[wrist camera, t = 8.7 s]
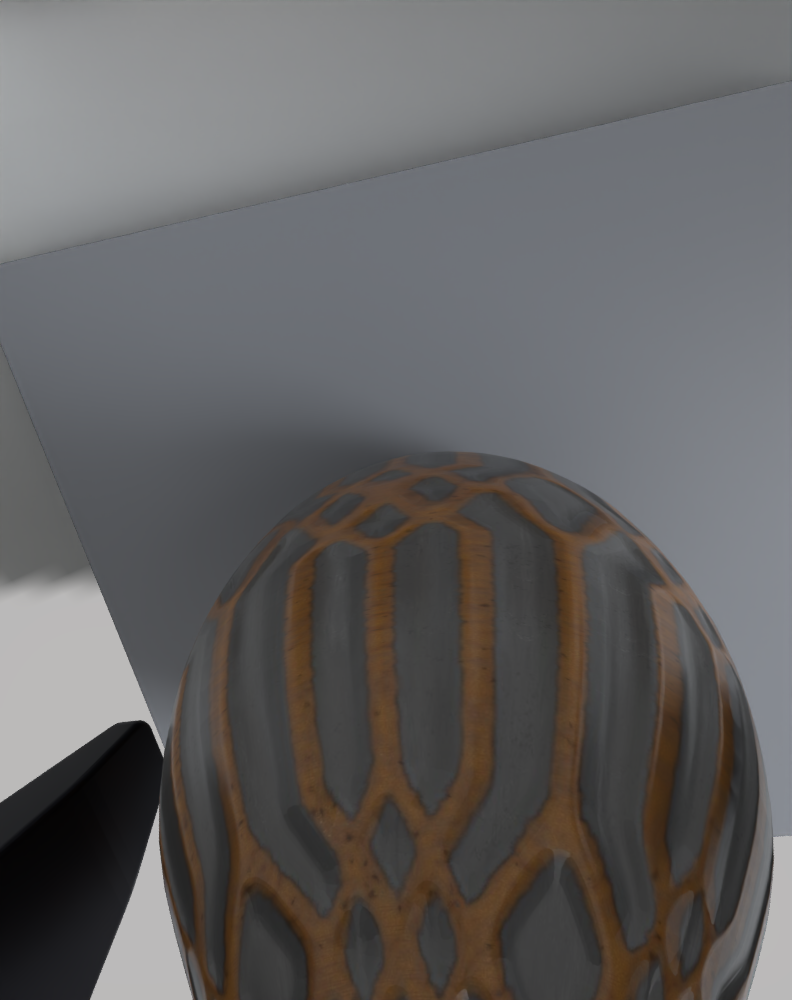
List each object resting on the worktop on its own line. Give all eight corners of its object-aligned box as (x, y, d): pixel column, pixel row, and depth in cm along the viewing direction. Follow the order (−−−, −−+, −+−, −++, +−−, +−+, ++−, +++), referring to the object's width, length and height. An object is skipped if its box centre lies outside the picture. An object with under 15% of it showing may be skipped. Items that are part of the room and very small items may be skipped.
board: (830, 88, 9) (896, 56, 8) (799, 776, 14) (838, 832, 13) (29, 271, 11) (-30, 270, 10) (236, 822, 16) (216, 875, 15)
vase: (651, 712, 12) (1090, 1655, 4) (320, 751, 13) (109, 1560, 5) (622, 369, 10) (1561, 891, 2) (222, 447, 11) (-490, 1010, 3)
